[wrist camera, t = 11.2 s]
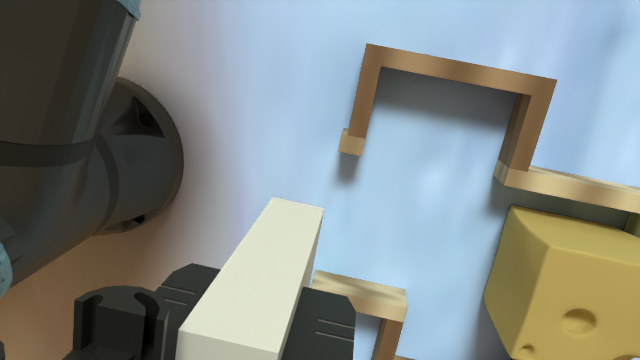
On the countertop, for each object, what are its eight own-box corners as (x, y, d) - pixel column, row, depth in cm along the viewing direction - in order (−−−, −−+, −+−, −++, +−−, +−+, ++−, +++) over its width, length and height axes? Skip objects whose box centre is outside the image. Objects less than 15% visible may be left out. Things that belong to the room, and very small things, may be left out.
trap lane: (300, 346, 48) (293, 374, 44) (361, 43, 40) (359, 41, 35) (568, 408, 46) (588, 444, 42) (692, 106, 38) (733, 113, 34)
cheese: (585, 321, 44) (644, 395, 34) (473, 296, 45) (501, 362, 35) (624, 222, 41) (701, 272, 32) (505, 196, 42) (545, 238, 32)
